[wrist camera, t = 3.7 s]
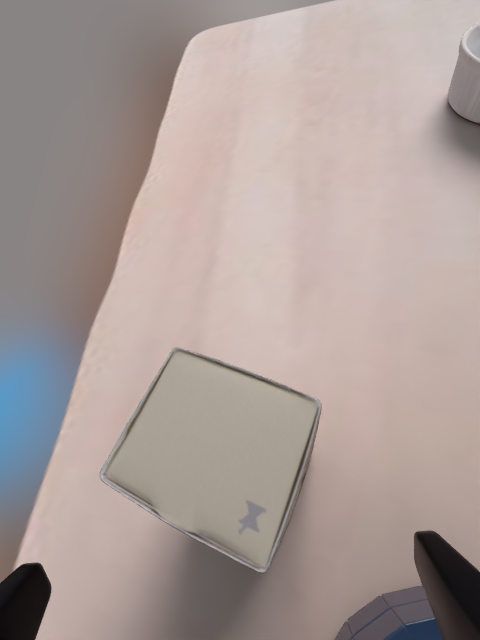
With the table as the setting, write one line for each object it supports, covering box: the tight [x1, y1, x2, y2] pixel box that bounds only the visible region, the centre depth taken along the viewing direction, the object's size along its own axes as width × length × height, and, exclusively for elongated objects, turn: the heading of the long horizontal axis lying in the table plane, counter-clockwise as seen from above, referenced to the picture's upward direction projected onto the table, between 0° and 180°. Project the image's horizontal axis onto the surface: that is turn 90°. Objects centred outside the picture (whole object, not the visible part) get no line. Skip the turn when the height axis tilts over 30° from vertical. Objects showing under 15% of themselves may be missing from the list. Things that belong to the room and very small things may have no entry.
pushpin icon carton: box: [100, 347, 322, 573], centre depth 13 cm, size 5×4×10 cm
